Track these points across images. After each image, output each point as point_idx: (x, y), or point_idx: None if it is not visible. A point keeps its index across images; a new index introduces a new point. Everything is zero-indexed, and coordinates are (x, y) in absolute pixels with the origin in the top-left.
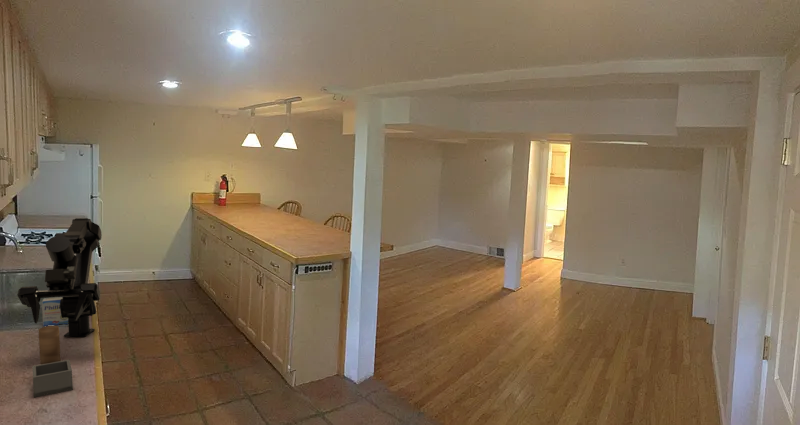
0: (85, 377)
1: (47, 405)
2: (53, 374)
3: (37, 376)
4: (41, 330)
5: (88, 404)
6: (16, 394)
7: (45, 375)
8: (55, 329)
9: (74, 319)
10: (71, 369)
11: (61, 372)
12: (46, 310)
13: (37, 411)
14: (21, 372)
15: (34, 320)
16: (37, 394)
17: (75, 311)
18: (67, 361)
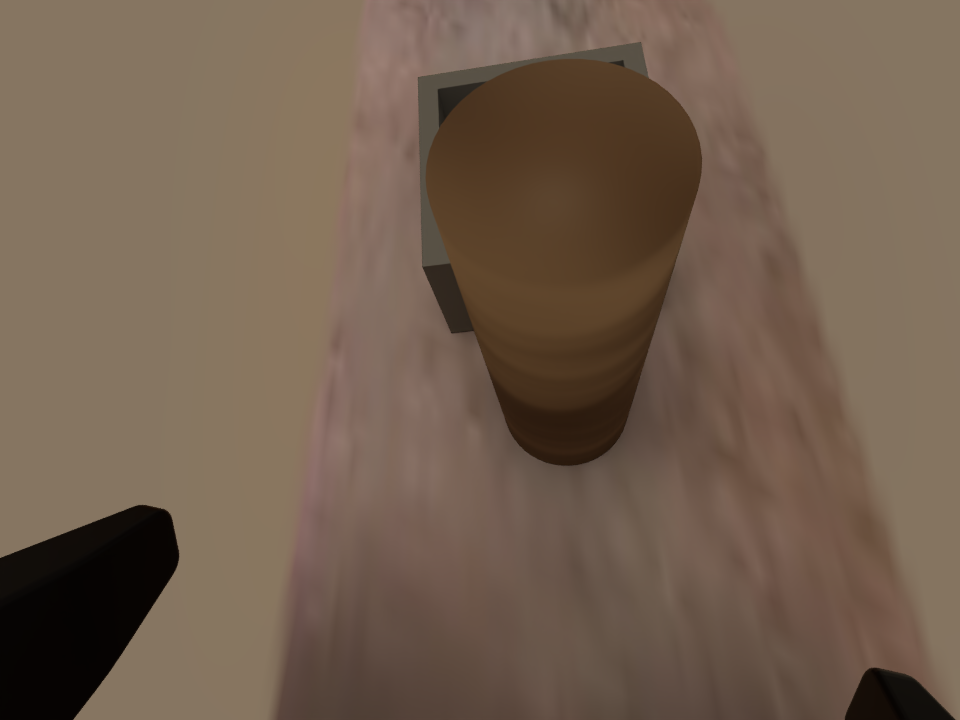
0: (371, 307)
1: (554, 50)
2: (523, 63)
3: (614, 49)
4: (652, 114)
5: (390, 12)
6: (732, 215)
7: (568, 54)
8: (470, 100)
9: (171, 517)
10: (419, 89)
11: (477, 69)
12: None
13: (590, 11)
14: (799, 606)
15: (925, 693)
16: None
17: (15, 593)
18: (437, 231)
